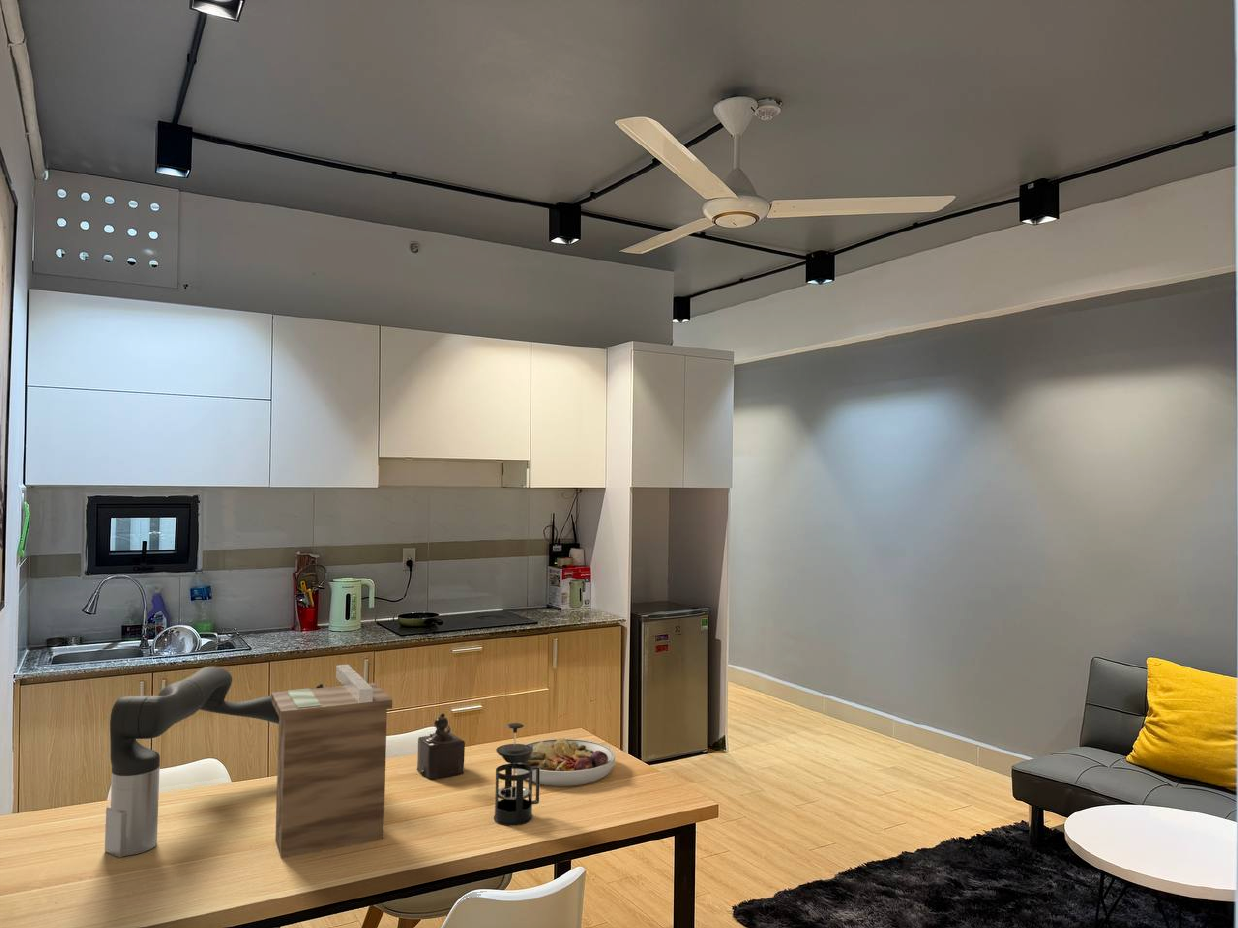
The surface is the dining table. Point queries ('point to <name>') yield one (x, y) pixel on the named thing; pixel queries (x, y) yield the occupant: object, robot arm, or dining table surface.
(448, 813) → the dining table surface
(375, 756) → the upright wood-grain block
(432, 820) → the dining table surface
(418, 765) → the manual coffee grinder
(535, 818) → the dining table surface
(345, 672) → the white rectangular bar
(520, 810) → the french press
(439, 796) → the dining table surface
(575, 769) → the bowl
